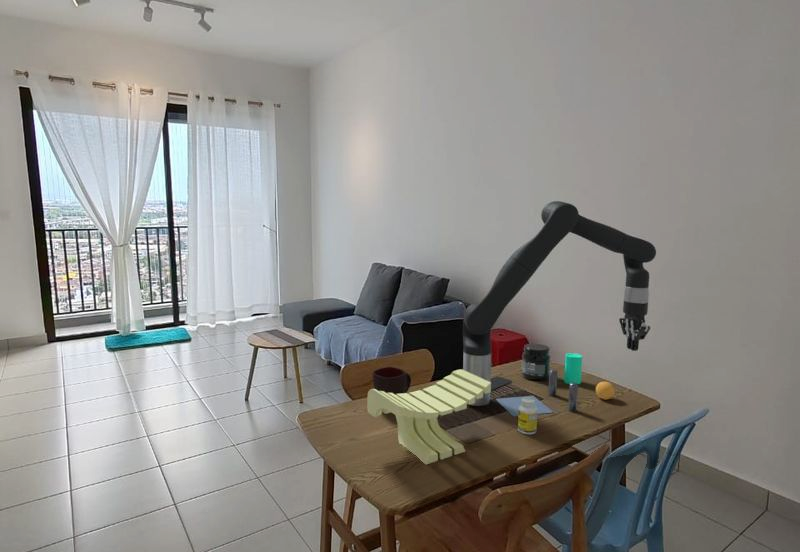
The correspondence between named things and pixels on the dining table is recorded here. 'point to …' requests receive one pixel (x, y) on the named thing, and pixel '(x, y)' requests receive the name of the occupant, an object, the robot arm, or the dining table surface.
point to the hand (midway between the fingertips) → (632, 349)
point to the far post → (552, 382)
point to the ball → (605, 390)
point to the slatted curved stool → (429, 413)
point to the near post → (573, 397)
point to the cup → (391, 380)
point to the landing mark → (515, 402)
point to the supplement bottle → (527, 416)
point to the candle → (573, 368)
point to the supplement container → (536, 362)
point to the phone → (498, 382)
